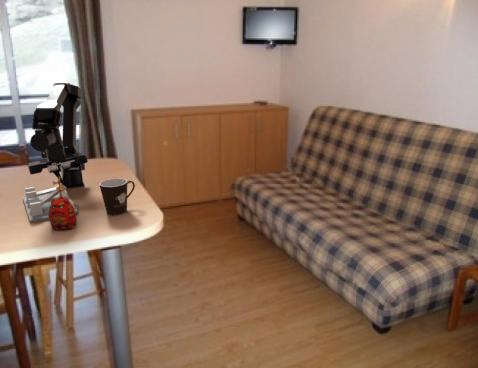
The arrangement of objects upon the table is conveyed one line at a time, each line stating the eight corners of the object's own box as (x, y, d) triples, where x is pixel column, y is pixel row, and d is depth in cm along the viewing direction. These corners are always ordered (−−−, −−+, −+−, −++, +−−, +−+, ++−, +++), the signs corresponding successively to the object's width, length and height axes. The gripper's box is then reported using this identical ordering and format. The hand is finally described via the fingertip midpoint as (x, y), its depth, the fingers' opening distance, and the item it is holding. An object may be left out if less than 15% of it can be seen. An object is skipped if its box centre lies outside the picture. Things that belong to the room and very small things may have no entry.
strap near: (64, 185, 133) (62, 183, 132) (66, 188, 130) (64, 186, 130) (36, 206, 130) (33, 204, 130) (37, 210, 127) (35, 207, 127)
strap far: (63, 187, 145) (62, 184, 144) (65, 190, 142) (64, 187, 141) (31, 195, 140) (30, 192, 139) (32, 198, 137) (31, 195, 136)
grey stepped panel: (65, 192, 150) (63, 179, 148) (78, 213, 130) (76, 199, 129) (23, 199, 143) (20, 186, 141) (30, 223, 123) (27, 208, 122)
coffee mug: (105, 218, 126) (101, 188, 123) (100, 209, 133) (97, 180, 130) (142, 211, 131) (139, 182, 128) (135, 203, 138) (133, 175, 135)
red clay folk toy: (47, 232, 118) (38, 183, 113) (56, 222, 124) (48, 175, 119) (73, 231, 118) (66, 182, 113) (81, 221, 125) (74, 175, 120)
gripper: (76, 134, 148) (85, 174, 154) (21, 144, 140) (32, 186, 145) (83, 139, 139) (92, 182, 145) (24, 150, 131) (36, 195, 136)
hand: (63, 186), depth 143 cm, fingers closed, pressing on strap far
